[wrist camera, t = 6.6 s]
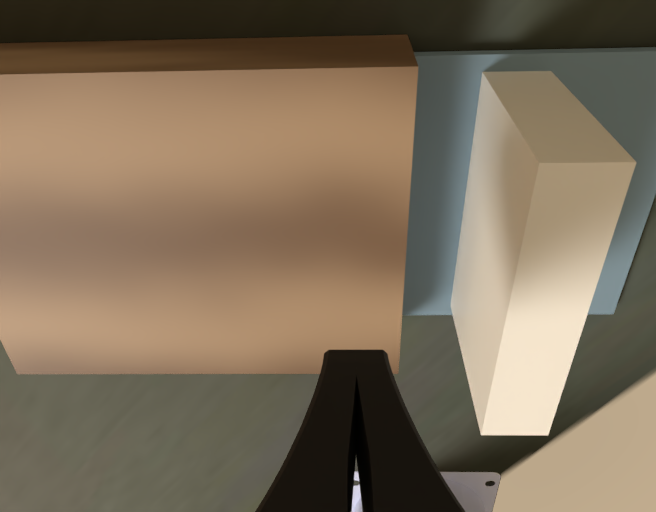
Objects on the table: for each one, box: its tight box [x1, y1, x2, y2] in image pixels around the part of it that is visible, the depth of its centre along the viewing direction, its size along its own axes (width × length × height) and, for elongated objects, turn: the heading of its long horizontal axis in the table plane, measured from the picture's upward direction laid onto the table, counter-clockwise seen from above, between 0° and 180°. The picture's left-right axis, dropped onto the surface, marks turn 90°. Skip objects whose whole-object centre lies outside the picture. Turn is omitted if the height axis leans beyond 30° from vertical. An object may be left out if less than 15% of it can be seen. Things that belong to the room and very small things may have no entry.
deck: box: [0, 35, 418, 374], centre depth 19 cm, size 11×14×3 cm
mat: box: [402, 47, 656, 315], centre depth 19 cm, size 10×8×1 cm
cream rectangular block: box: [451, 71, 636, 435], centre depth 17 cm, size 9×6×2 cm
